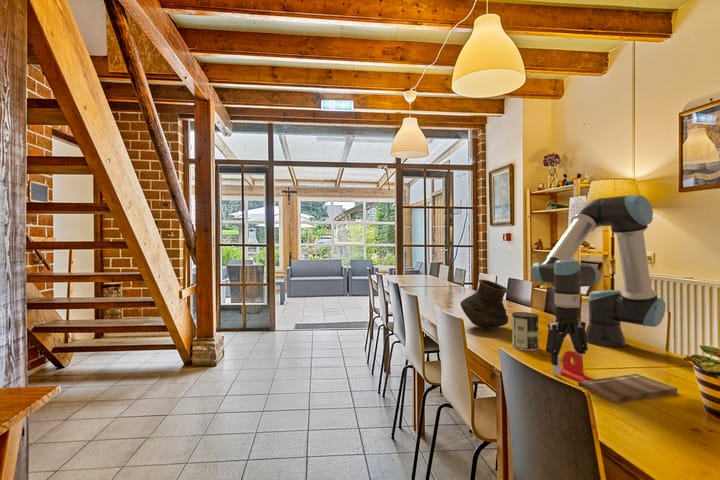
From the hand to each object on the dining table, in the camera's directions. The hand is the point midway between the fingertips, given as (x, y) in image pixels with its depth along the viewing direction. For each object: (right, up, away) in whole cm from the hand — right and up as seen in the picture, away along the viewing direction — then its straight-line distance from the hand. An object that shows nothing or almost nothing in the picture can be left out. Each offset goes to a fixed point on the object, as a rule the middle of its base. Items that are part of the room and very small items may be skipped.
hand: (566, 373), depth 121 cm
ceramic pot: (-5, -1, +65) cm, 65 cm away
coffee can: (0, -1, +31) cm, 31 cm away
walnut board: (+11, -1, -12) cm, 17 cm away
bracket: (+1, -1, -3) cm, 3 cm away
